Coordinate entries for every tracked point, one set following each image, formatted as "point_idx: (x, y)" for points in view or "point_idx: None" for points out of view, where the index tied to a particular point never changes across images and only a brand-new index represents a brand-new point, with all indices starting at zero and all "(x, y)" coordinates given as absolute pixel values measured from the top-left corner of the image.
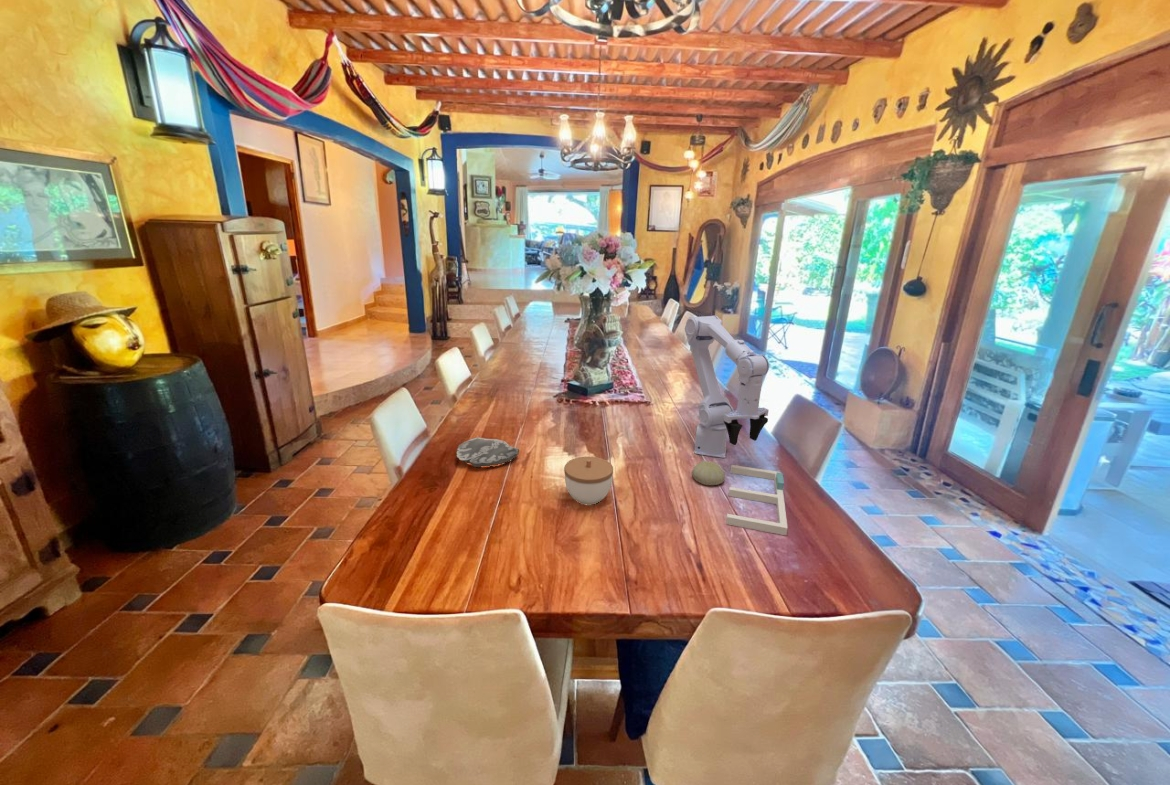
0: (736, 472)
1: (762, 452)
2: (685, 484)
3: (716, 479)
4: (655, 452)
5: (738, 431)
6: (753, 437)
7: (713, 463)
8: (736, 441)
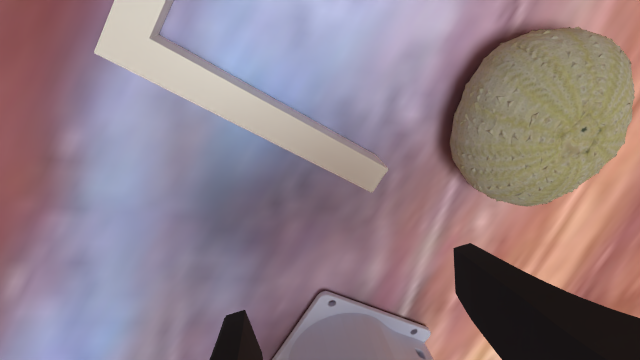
0: (354, 144)
1: (83, 340)
2: (634, 83)
3: (570, 30)
4: None
5: (590, 331)
6: (251, 343)
7: (549, 151)
8: (481, 261)
